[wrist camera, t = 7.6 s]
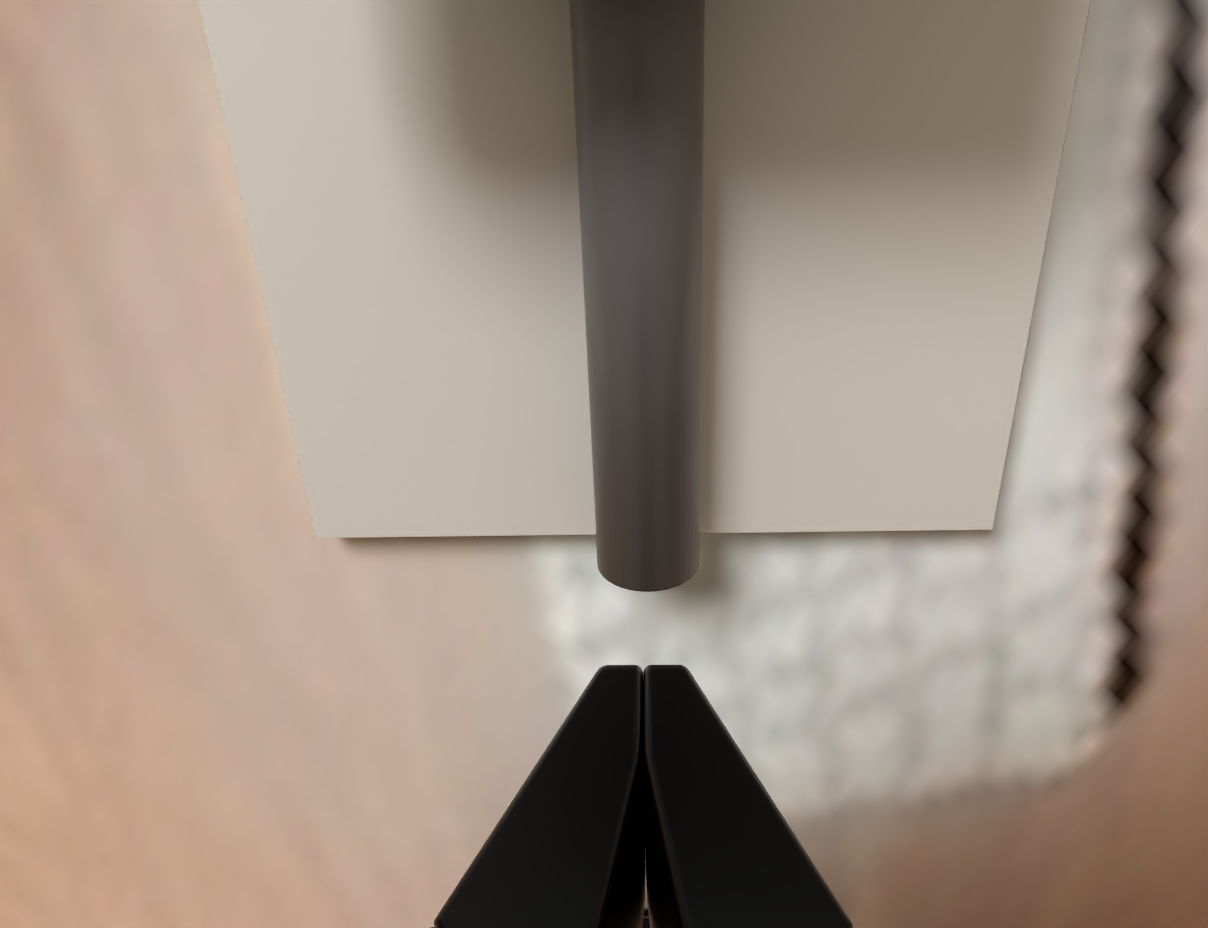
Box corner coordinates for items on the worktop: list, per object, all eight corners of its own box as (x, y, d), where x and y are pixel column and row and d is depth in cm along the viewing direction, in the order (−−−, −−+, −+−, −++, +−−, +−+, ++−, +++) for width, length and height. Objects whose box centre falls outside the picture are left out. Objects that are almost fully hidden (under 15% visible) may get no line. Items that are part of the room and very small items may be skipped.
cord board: (980, 509, 20) (1093, 701, 15) (326, 518, 21) (224, 703, 16) (1253, -1040, 11) (1822, -1958, 5) (23, -926, 11) (-488, -1642, 6)
